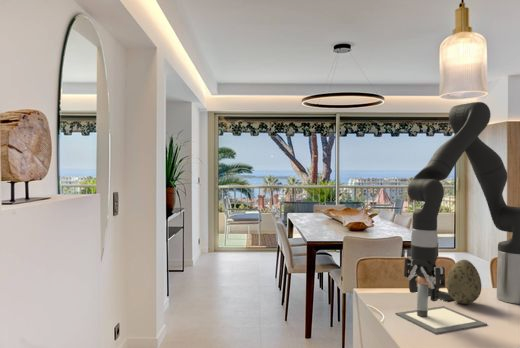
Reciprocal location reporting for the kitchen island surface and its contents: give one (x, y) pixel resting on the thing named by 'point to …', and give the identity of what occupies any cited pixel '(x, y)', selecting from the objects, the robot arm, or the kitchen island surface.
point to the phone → (440, 295)
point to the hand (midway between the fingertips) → (423, 296)
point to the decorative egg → (463, 282)
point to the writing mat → (441, 320)
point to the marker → (422, 297)
